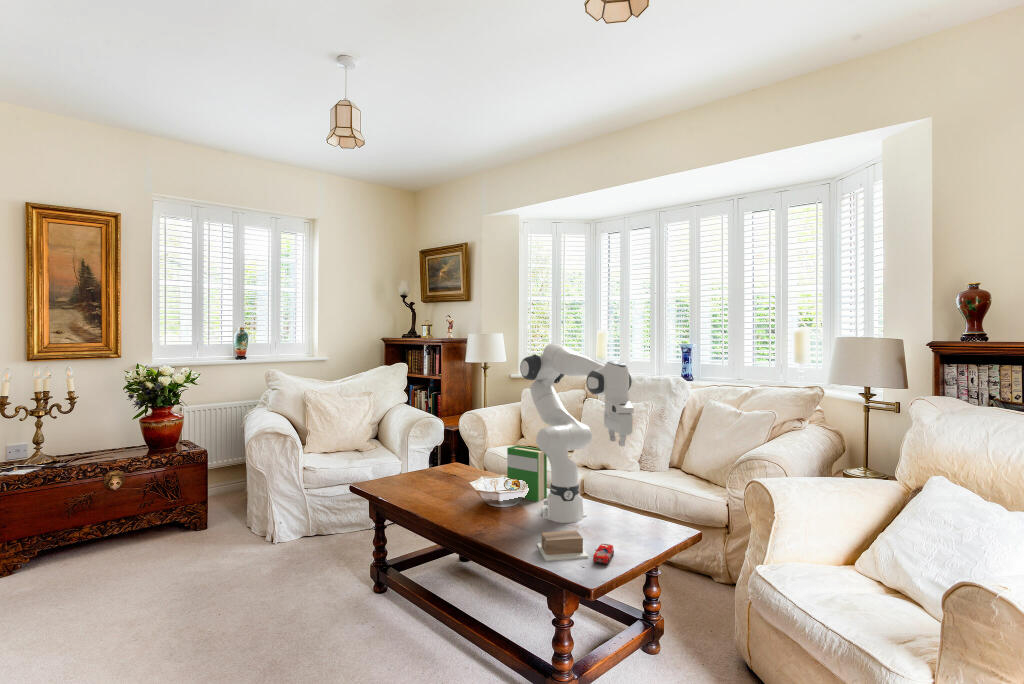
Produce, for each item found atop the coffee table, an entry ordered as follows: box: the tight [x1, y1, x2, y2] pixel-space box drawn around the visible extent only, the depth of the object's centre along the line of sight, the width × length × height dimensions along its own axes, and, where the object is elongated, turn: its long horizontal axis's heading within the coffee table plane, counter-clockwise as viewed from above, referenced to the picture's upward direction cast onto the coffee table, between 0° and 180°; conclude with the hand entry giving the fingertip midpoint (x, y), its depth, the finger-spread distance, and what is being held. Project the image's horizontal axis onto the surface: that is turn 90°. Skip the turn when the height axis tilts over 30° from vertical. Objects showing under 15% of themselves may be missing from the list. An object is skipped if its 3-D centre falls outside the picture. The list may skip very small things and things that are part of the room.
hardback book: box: [506, 444, 548, 503], centre depth 252 cm, size 18×7×24 cm, turn 51°
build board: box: [536, 542, 589, 562], centre depth 189 cm, size 14×15×1 cm
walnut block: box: [540, 529, 584, 555], centre depth 189 cm, size 8×13×5 cm, turn 99°
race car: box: [592, 543, 615, 565], centre depth 183 cm, size 13×5×4 cm, turn 156°
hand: (617, 443), depth 196 cm, fingers open, 8 cm apart
